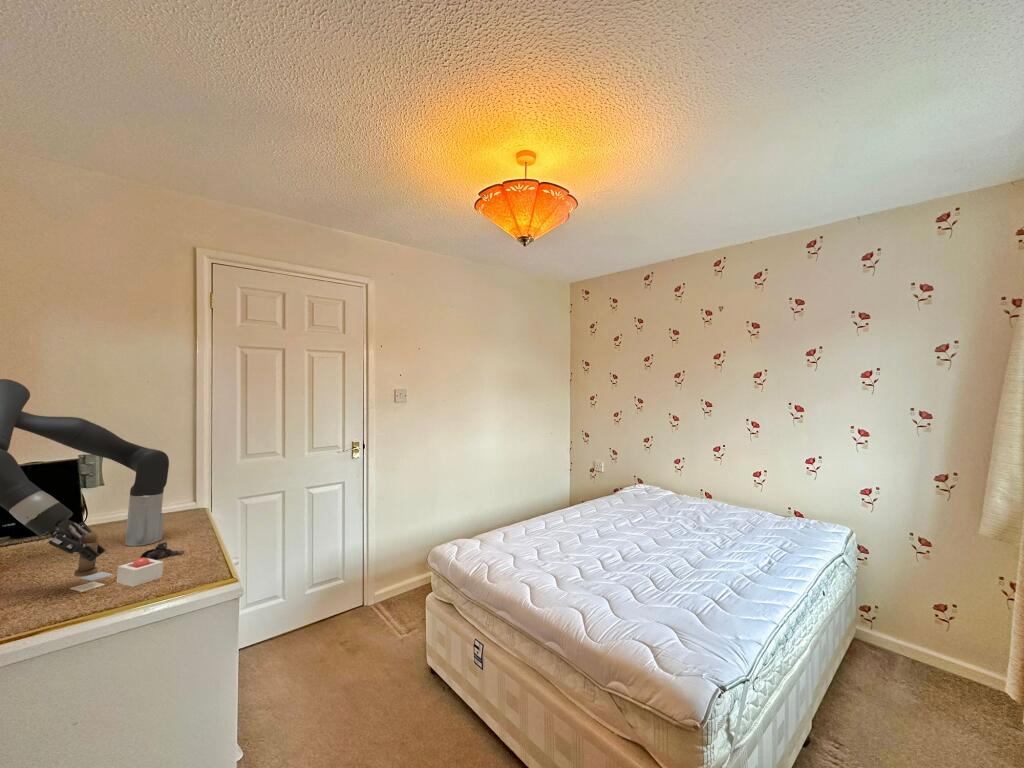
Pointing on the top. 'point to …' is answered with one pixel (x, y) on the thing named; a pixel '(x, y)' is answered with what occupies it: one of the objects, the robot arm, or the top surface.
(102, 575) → the game board
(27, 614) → the top surface
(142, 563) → the popper button
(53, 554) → the top surface
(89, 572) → the pawn
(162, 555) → the stuffed animal
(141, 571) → the popper housing
